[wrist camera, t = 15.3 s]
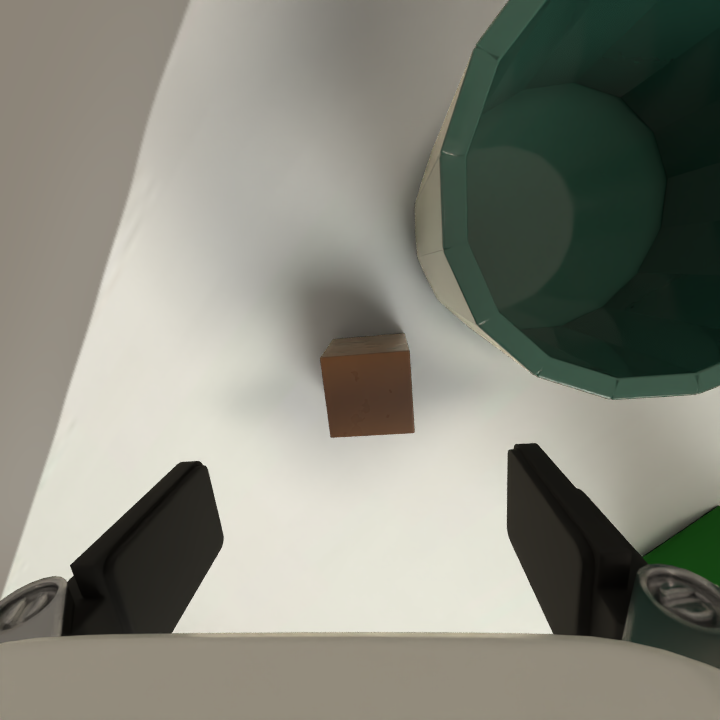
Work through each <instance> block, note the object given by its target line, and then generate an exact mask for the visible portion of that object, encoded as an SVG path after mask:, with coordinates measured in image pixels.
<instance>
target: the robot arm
mask: <svg viewBox="0 0 720 720" xmlns="http://www.w3.org/2000/svg"><path fill="white" fill-rule="evenodd" d="M507 531H508V536H509V539H510V541H511V544H512V546H513V548H514V550H515V552H516V554H517V557H518V559H519V561H520V563H521V565H522V567H523V569H524V572H525V574H526V576H527V578H528V580H529V582H530V585H531V587H532V589H533V591H534V593H535V595H536V597H537V600H538V602H539V604H540V606H541V608H542V610H543V613H544V615H545V617H546V619H547V621H548V623H549V626H550V628H551V630H552V632H553V634H529V633H448V632H290V633H172V632H173V630H174V628H175V627H176V625H177V623H178V621H179V620H180V618H181V616H182V615H183V613H184V611H185V610H186V608H187V606H188V604H189V603H190V601H191V599H192V598H193V596H194V594H195V592H196V591H197V589H198V587H199V586H200V584H201V582H202V580H203V579H204V577H205V575H206V574H207V572H208V570H209V569H210V567H211V565H212V563H213V562H214V560H215V558H216V557H217V555H218V553H219V551H220V550H221V548H222V545H223V540H224V536H223V531H222V527H221V523H220V519H219V514H218V510H217V506H216V502H215V498H214V493H213V489H212V485H211V481H210V477H209V472H208V469H207V467H206V466H204V465H203V464H202V463H201V462H200V461H191V462H180V463H179V464H177V465H176V466H175V467H174V468H173V469H172V470H171V471H170V472H169V473H168V474H167V475H166V476H165V477H164V478H162V479H161V480H160V481H159V482H158V483H157V484H156V485H155V486H154V487H153V488H152V489H151V490H150V491H149V492H148V493H147V494H145V495H144V496H143V497H142V498H141V499H140V500H139V501H138V502H137V503H136V504H135V505H134V506H133V507H132V508H131V509H130V510H128V511H127V512H126V513H125V514H124V515H123V516H122V517H121V518H120V519H119V520H118V521H117V522H116V523H115V524H114V525H112V526H111V527H110V528H109V529H108V530H107V531H106V532H105V533H104V534H103V535H102V536H101V537H100V538H99V539H98V540H97V541H95V542H94V543H93V544H92V545H91V546H90V547H89V548H88V549H87V550H86V551H85V552H84V553H83V554H82V555H81V556H80V557H78V558H77V559H76V560H75V561H74V562H73V563H72V564H71V565H70V567H71V569H72V572H73V575H74V576H73V577H72V578H71V579H70V580H69V581H68V582H67V581H66V580H65V579H64V578H62V577H57V576H52V577H47V578H42V579H40V580H37V581H34V582H32V583H29V584H27V585H25V586H23V587H21V588H19V589H17V590H16V591H14V592H13V593H11V594H10V595H8V596H7V597H5V598H4V599H2V600H1V601H0V720H720V587H718V586H716V585H715V584H713V583H712V582H710V581H709V580H707V579H705V578H704V577H702V576H699V575H697V574H695V573H693V572H691V571H689V570H686V569H683V568H679V567H676V566H673V565H666V564H648V563H647V562H646V561H645V560H644V559H643V558H642V556H641V555H640V554H639V553H638V552H637V551H636V550H635V549H634V548H633V546H632V545H631V544H630V543H629V542H628V541H627V540H626V539H625V538H624V536H623V535H622V534H621V533H620V532H619V531H618V530H617V529H616V527H615V526H614V525H613V524H612V523H611V522H610V521H609V520H608V519H607V517H606V516H605V515H604V514H603V513H602V512H601V511H600V510H599V508H598V507H597V506H596V505H595V504H594V503H593V502H592V501H591V500H590V498H589V497H588V496H587V495H586V494H585V493H584V492H583V491H582V490H581V489H577V488H576V487H575V486H574V485H573V484H572V483H571V482H570V481H569V479H568V478H567V477H566V476H565V475H564V474H563V473H562V472H561V470H560V469H559V468H558V467H557V466H556V465H555V464H554V462H553V461H552V460H551V459H550V458H549V457H548V456H547V454H546V453H545V452H544V451H543V450H542V449H541V448H540V446H539V445H538V444H536V443H530V444H516V445H515V446H514V449H511V450H508V475H507Z"/></svg>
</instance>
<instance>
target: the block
mask: <svg viewBox="0 0 720 720" xmlns="http://www.w3.org/2000/svg"><path fill="white" fill-rule="evenodd" d="M320 363H321V370H322V377H323V385H324V392H325V400H326V407H327V414H328V422H329V429H330V437H331V438H334V437H352V436H369V435H387V434H405V433H414V432H415V428H414V413H413V397H412V381H411V365H410V351H409V347H408V344H407V341H406V337H405V334H404V333H399V334H388V335H376V336H364V337H352V338H340V339H333V340H332V341H331V343H330V344H329V346H328V347H327V349H326V350H325V351H324V353H323V354H322V356H321V357H320Z"/></svg>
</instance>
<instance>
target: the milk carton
mask: <svg viewBox="0 0 720 720" xmlns="http://www.w3.org/2000/svg"><path fill="white" fill-rule="evenodd" d="M642 558H643V559H644V560H645V561H646V562H647V563H648V564H666V565H673V566H676V567H679V568H683V569H686V570H689V571H691V572H693V573H695V574H697V575H699V576H702V577H704V578H705V579H707V580H709V581H710V582H712V583H713V584H715V585H716V586H718V587H720V506H718V507H716V508H715V509H713V510H712V511H710V512H709V513H707V514H706V515H704V516H703V517H701V518H700V519H699V520H697V521H696V522H694V523H693V524H691V525H690V526H688V527H687V528H685V529H684V530H682V531H681V532H679V533H678V534H676V535H675V536H673V537H672V538H670V539H669V540H667V541H666V542H664V543H663V544H661V545H660V546H658V547H657V548H655V549H654V550H652V551H651V552H649V553H648V554H647V555H645V556H644V557H642Z"/></svg>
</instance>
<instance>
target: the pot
mask: <svg viewBox="0 0 720 720" xmlns="http://www.w3.org/2000/svg"><path fill="white" fill-rule="evenodd" d="M414 211H415V239H416V248H417V256H418V257H417V258H418V260H419V262H420V265H421V267H422V269H423V272H424V274H425V277H426V279H427V281H428V282H429V284H430V286H431V288H432V290H433V292H434V294H435V296H436V298H437V299H438V301H439V302H440V303H442V304H443V305H444V306H445V307H446V308H447V309H449V310H450V311H451V312H452V313H453V314H454V315H455V316H457V317H458V318H459V319H460V320H461V321H462V322H464V323H465V324H466V325H467V326H468V327H469V328H470V329H472V330H473V331H475V332H476V333H477V334H479V335H480V336H481V337H483V338H484V339H485V340H487V341H488V342H489V343H491V344H492V345H493V346H495V347H496V348H498V349H499V350H500V351H502V352H503V353H504V354H506V355H507V356H508V357H510V358H511V359H512V360H514V361H515V362H516V363H518V364H519V365H520V366H522V367H523V368H525V369H526V370H527V371H529V372H530V373H531V374H533V375H535V376H536V377H538V378H542V379H545V380H548V381H551V382H554V383H558V384H561V385H564V386H567V387H570V388H574V389H577V390H580V391H583V392H586V393H590V394H593V395H596V396H599V397H603V398H606V399H612V400H619V399H635V398H651V397H667V396H683V395H696V394H700V393H703V392H705V391H708V390H711V389H713V388H716V387H718V386H720V0H508V2H507V3H506V4H505V6H504V7H503V8H502V10H501V11H500V12H499V14H498V15H497V16H496V18H495V19H494V20H493V22H492V23H491V24H490V26H489V27H488V29H487V30H486V31H485V33H484V34H483V35H482V37H481V38H480V39H479V41H478V42H477V43H476V46H475V48H474V49H473V51H472V54H471V56H470V58H469V61H468V63H467V66H466V68H465V71H464V73H463V76H462V78H461V80H460V83H459V85H458V88H457V90H456V93H455V95H454V98H453V100H452V102H451V105H450V107H449V110H448V112H447V115H446V117H445V120H444V122H443V124H442V127H441V129H440V132H439V134H438V137H437V139H436V142H435V144H434V146H433V149H432V151H431V154H430V157H429V160H428V163H427V167H426V170H425V173H424V176H423V179H422V181H421V185H420V188H419V192H418V195H417V198H416V201H415V206H414Z"/></svg>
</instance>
